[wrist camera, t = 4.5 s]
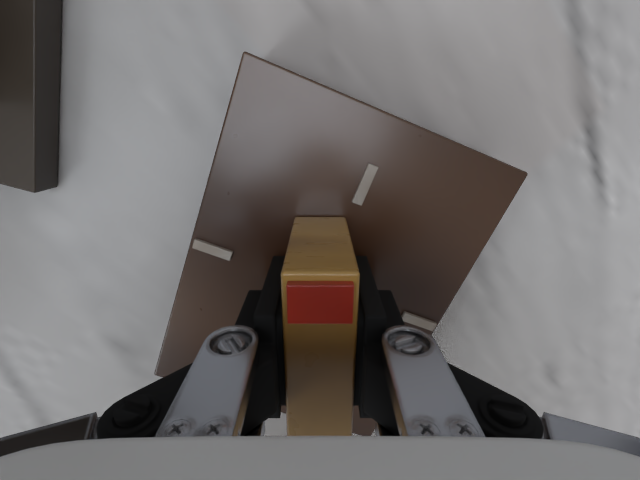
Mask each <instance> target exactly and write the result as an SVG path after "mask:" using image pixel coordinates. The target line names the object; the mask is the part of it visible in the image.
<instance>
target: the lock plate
mask: <svg viewBox="0 0 640 480" xmlns="http://www.w3.org/2000/svg"><path fill="white" fill-rule="evenodd" d="M526 176H527V172H525V171H522V170H520V169H518V168H515V167H513V166H511V165H508V164H506V163H504V162H501V161H499V160H497V159H494V158H492V157H490V156H487V155H485V154H483V153H480V152H478V151H476V150H473V149H471V148H469V147H466V146H464V145H462V144H459V143H457V142H455V141H452V140H450V139H448V138H445V137H443V136H441V135H438V134H436V133H434V132H432V131H429V130H427V129H425V128H422V127H420V126H418V125H415V124H413V123H411V122H408V121H406V120H404V119H401V118H399V117H397V116H394V115H392V114H390V113H387V112H385V111H383V110H380V109H378V108H376V107H373V106H371V105H369V104H366V103H364V102H362V101H359V100H357V99H355V98H352V97H350V96H348V95H345V94H343V93H341V92H338V91H336V90H334V89H331V88H329V87H327V86H324V85H322V84H320V83H317V82H315V81H313V80H310V79H308V78H306V77H303V76H301V75H299V74H296V73H294V72H292V71H289V70H287V69H285V68H283V67H280V66H278V65H276V64H273V63H271V62H269V61H266V60H264V59H262V58H259V57H257V56H255V55H252V54H250V53H248V52H243V55H242V58H241V62H240V66H239V69H238V73H237V76H236V80H235V84H234V87H233V91H232V94H231V98H230V102H229V105H228V109H227V113H226V116H225V120H224V123H223V127H222V131H221V134H220V138H219V142H218V145H217V149H216V152H215V156H214V160H213V163H212V167H211V171H210V174H209V178H208V181H207V185H206V189H205V192H204V196H203V199H202V203H201V207H200V210H199V214H198V218H197V221H196V225H195V228H194V232H193V236H192V239H191V243H190V247H189V250H188V254H187V257H186V261H185V265H184V268H183V272H182V275H181V279H180V283H179V286H178V290H177V294H176V297H175V301H174V304H173V308H172V312H171V315H170V319H169V323H168V326H167V330H166V333H165V337H164V341H163V344H162V348H161V351H160V355H159V359H158V362H157V366H156V370H155V375H157V376H160V377H165V376H167V375H169V374H171V373H173V372H175V371H177V370H179V369H181V368H183V367H185V366H187V365H189V364H191V363H193V362H194V360H195V358H196V356H197V354H198V352H199V350H200V348H201V346H202V344H203V343H204V341H205V339H206V338H207V337H208V336H209V335H210V334H211V333H213V332H214V331H216V330H218V329H220V328H223V327H227V326H233V325H235V323H236V321H237V318H238V316H239V313H240V311H241V308H242V306H243V304H244V301H245V299H246V296H247V294H248V292H249V290H262V288H263V285H264V282H265V279H266V276H267V273H268V270H269V267H270V264H271V261H272V258H273V256H285V255H286V251H287V247H288V243H289V239H290V235H291V231H292V227H293V223H294V219H295V217H345V218H346V221H347V225H348V229H349V233H350V237H351V241H352V245H353V249H354V253H355V256H367V259H368V262H369V265H370V268H371V271H372V274H373V277H374V280H375V283H376V286H377V289H378V290H391V292H392V294H393V297H394V299H395V301H396V304H397V306H398V309H399V311H400V314H401V316H402V319H403V321H404V324H405V325H407V326H413V327H417V328H420V329H422V330H424V331H426V332H427V333H429V334H430V335H432V333H433V331H434V330H435V328H436V326H437V325H438V323H439V321H440V320H441V318H442V316H443V315H444V313H445V311H446V310H447V308H448V306H449V305H450V303H451V301H452V300H453V298H454V296H455V295H456V293H457V291H458V290H459V288H460V286H461V285H462V283H463V281H464V280H465V278H466V276H467V275H468V273H469V271H470V270H471V268H472V266H473V265H474V263H475V261H476V260H477V258H478V256H479V255H480V253H481V251H482V250H483V248H484V246H485V245H486V243H487V241H488V240H489V238H490V236H491V235H492V233H493V231H494V230H495V228H496V226H497V225H498V223H499V221H500V220H501V218H502V216H503V215H504V213H505V211H506V210H507V208H508V206H509V205H510V203H511V201H512V200H513V198H514V196H515V195H516V193H517V191H518V190H519V188H520V186H521V185H522V183H523V181H524V180H525V178H526ZM281 412H283V413H286V406H281ZM374 430H375V420H374V419H372V418H360V415H359V407H358V406H353V424H352V433H354V434H358V435H361V436H371V435H372V433H373V431H374Z"/></svg>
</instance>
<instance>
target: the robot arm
mask: <svg viewBox="0 0 640 480" xmlns="http://www.w3.org/2000/svg"><path fill="white" fill-rule="evenodd" d="M355 257H356V261H357V265H358V269H359V273H360V282H359V302H358V323H357V343H356V363H355V384H354V404H353V406H358V407H359V415H360V418H372V419H374V420H375V434H376V436H264V434H265V420H266V419H268V418H280V413H281V406H286V393H285V368H284V344H283V319H282V294H281V271H282V267H283V263H284V259H285V256H273V258H272V261H271V264H270V267H269V270H268V273H267V276H266V279H265V282H264V285H263V288H262V290H249V292H248V294H247V296H246V299H245V301H244V304H243V306H242V308H241V311H240V313H239V316H238V318H237V321H236V323H235V325H233V326H227V327H223V328H220V329H218V330H216V331H214V332H213V333H211V334H210V335H209V336H208V337H207V338H206V339H205V341H204V343H203V344H202V346H201V348H200V350H199V352H198V354H197V356H196V358H195V360H194V362H193V363H191V364H189V365H187V366H185V367H183V368H181V369H179V370H177V371H175V372H173V373H171V374H169V375H167V376H165V377H163V378H161V379H159V380H157V381H156V382H154V383H152V384H150V385H148V386H146V387H144V388H142V389H140V390H138V391H136V392H134V393H132V394H130V395H128V396H126V397H124V398H122V399H121V400H119V401H117V402H116V403H114V404H113V405H112V406H111V407H109V408H108V409H107V410H106V411H105V412H104V414H103V415H102V416H101V417H97V413H96V412H95V413H91V414H87V415H84V416H80V417H76V418H73V419H69V420H65V421H61V422H58V423H54V424H50V425H47V426H43V427H39V428H35V429H32V430H28V431H24V432H21V433H17V434H13V435H9V436H6V437H2V438H0V480H640V438H638V437H634V436H631V435H627V434H623V433H619V432H616V431H612V430H608V429H605V428H601V427H597V426H593V425H590V424H586V423H582V422H579V421H575V420H571V419H567V418H564V417H560V416H556V415H553V414H549V413H545V412H544V413H543V416H542V417H538V415H537V414H536V412H535V411H534V410H533V409H531V408H530V407H529V406H528V405H527V404H526V403H524V402H522V401H521V400H519V399H518V398H516V397H514V396H512V395H510V394H508V393H506V392H504V391H502V390H500V389H498V388H496V387H494V386H492V385H490V384H488V383H486V382H484V381H482V380H480V379H478V378H476V377H474V376H473V375H471V374H469V373H467V372H465V371H463V370H461V369H459V368H457V367H455V366H453V365H451V364H449V363H447V362H446V360H445V358H444V356H443V354H442V352H441V350H440V348H439V346H438V344H437V343H436V341H435V339H434V338H433V337H432V336H431V335H430V334H429V333H427V332H426V331H424V330H422V329H420V328H417V327H413V326H407V325H405V324H404V321H403V319H402V316H401V314H400V311H399V309H398V306H397V304H396V301H395V299H394V297H393V294H392V292H391V290H378V289H377V286H376V283H375V280H374V277H373V274H372V271H371V268H370V265H369V262H368V259H367V256H355Z"/></svg>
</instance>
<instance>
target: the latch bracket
mask: <svg viewBox="0 0 640 480" xmlns="http://www.w3.org/2000/svg"><path fill="white" fill-rule="evenodd" d="M61 6H62V0H0V184H4V185H7V186H11V187H15V188H19V189H22V190H26V191H30V192H34V193H36V192H40V191H43V190H47V189H51V188H54V187H57V169H58V129H59V88H60V47H61Z"/></svg>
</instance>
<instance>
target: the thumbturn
mask: <svg viewBox="0 0 640 480" xmlns="http://www.w3.org/2000/svg"><path fill="white" fill-rule="evenodd" d="M359 282H360V273H359V269H358V265H357V261H356V257H355V253H354V249H353V245H352V241H351V237H350V233H349V229H348V225H347V221H346V218H345V217H295V219H294V223H293V227H292V231H291V235H290V239H289V243H288V247H287V251H286V255H285V259H284V263H283V267H282V271H281V294H282V319H283V344H284V368H285V393H286V418H287V436H352V424H353V404H354V384H355V363H356V343H357V323H358V302H359Z"/></svg>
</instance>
